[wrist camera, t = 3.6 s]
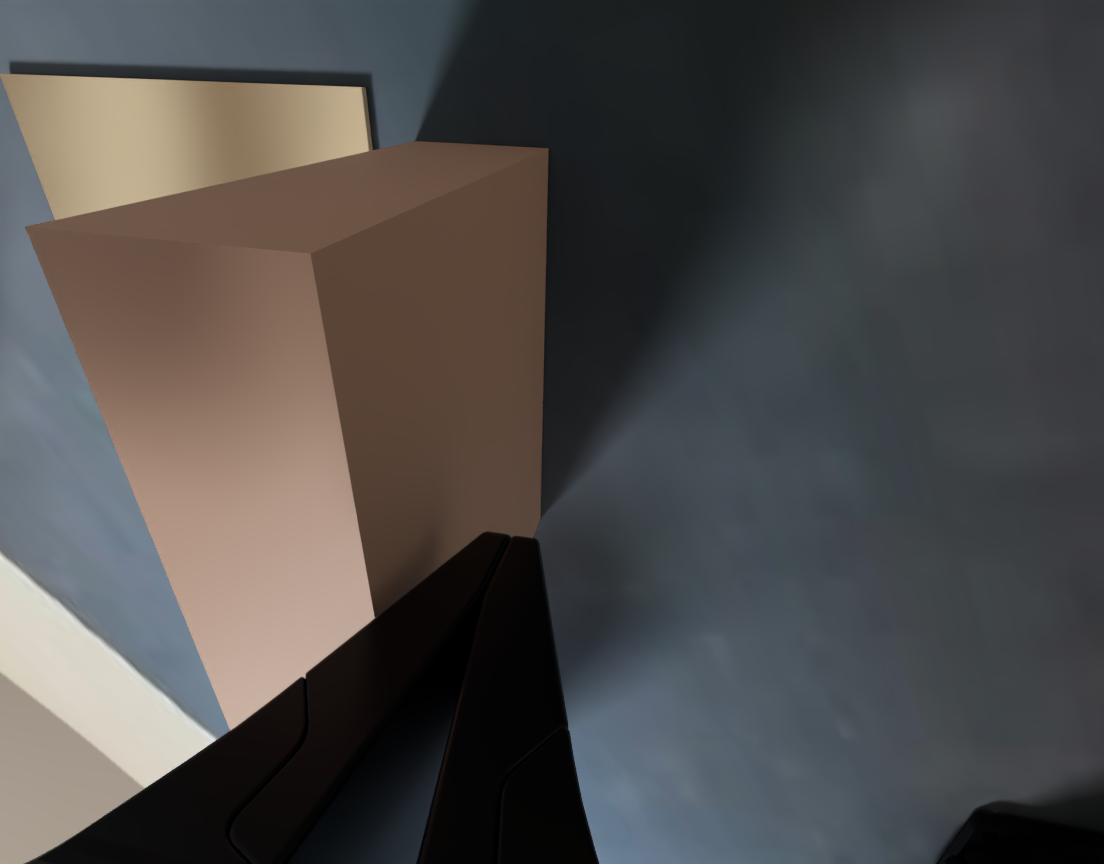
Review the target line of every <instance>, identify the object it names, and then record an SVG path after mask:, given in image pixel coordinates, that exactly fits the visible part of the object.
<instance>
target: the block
mask: <svg viewBox="0 0 1104 864" xmlns="http://www.w3.org/2000/svg"><path fill="white" fill-rule="evenodd" d="M548 151H549V148H534V147H516V146H498V145H480V144H461V143H442V142H423V141H414V142H409V143H404V144H400V145H395V146H391V147H386V148H382V149H377V150H373V151H368V152H364V153H359V154H354V155H350V156H345V157H341V158H336V159H332V160H327V161H323V162H318V163H313V164H309V165H304V166H300V167H295V168H291V169H286V170H282V171H277V172H272V173H268V174H263V175H259V176H254V177H250V178H245V179H241V180H236V181H232V182H227V183H222V184H218V185H213V186H209V187H204V188H200V189H195V190H191V191H186V192H181V193H177V194H172V195H168V196H163V197H159V198H154V199H150V200H145V201H140V202H136V203H131V204H127V205H122V206H118V207H113V208H109V209H104V210H99V211H95V212H90V213H86V214H81V215H77V216H72V217H68V218H63V219H59V220H54V221H49V222H45V223H40V224H36V225H31V226H27V227H25V228H26V230H27V233H28V235H29V237H30V240H31V242H32V245H33V247H34V250H35V252H36V255H37V257H38V260H39V262H40V265H41V267H42V269H43V272H44V274H45V277H46V279H47V282H48V284H49V287H50V289H51V292H52V294H53V296H54V299H55V301H56V304H57V306H58V309H59V311H60V314H61V316H62V319H63V321H64V323H65V326H66V328H67V331H68V333H69V336H70V338H71V341H72V343H73V346H74V348H75V350H76V353H77V355H78V358H79V360H80V363H81V365H82V368H83V370H84V373H85V375H86V377H87V380H88V382H89V385H90V387H91V390H92V392H93V395H94V397H95V400H96V402H97V404H98V407H99V409H100V412H101V414H102V417H103V419H104V422H105V424H106V427H107V429H108V431H109V434H110V436H111V439H112V441H113V444H114V446H115V449H116V451H117V454H118V456H119V458H120V461H121V463H122V466H123V468H124V471H125V473H126V476H127V478H128V481H129V483H130V485H131V488H132V490H133V493H134V495H135V498H136V500H137V503H138V505H139V508H140V510H141V512H142V515H143V517H144V520H145V522H146V525H147V527H148V530H149V532H150V535H151V537H152V539H153V542H154V544H155V547H156V549H157V552H158V554H159V557H160V559H161V562H162V564H163V566H164V569H165V571H166V574H167V576H168V579H169V581H170V584H171V586H172V589H173V591H174V593H175V596H176V598H177V601H178V603H179V606H180V608H181V611H182V613H183V616H184V618H185V620H186V623H187V625H188V628H189V630H190V633H191V635H192V638H193V640H194V643H195V645H196V647H197V650H198V652H199V655H200V657H201V660H202V662H203V665H204V667H205V670H206V672H207V674H208V677H209V679H210V682H211V684H212V687H213V689H214V692H215V694H216V697H217V699H218V701H219V704H220V706H221V709H222V711H223V714H224V716H225V719H226V721H227V724H228V726H229V728H230V730H232V729H233V728H235V727H236V726H238V725H239V724H240V723H242V722H243V721H244V720H246V719H247V718H248V717H249V716H251V715H252V714H253V713H255V712H256V711H257V710H259V709H260V708H261V707H263V706H264V705H265V704H267V703H268V702H269V701H271V700H272V699H273V698H275V697H276V696H277V695H278V694H280V693H281V692H282V691H283V690H285V689H286V688H287V687H288V686H290V685H291V684H292V683H294V682H295V681H296V680H297V679H299V678H300V677H304V678H305V675H306V673H307V672H308V671H309V670H310V669H312V668H313V667H314V666H315V665H317V664H318V663H319V662H320V661H322V660H323V659H324V658H325V657H327V656H328V655H329V654H330V653H332V652H333V651H334V650H335V649H337V648H338V647H339V646H340V645H342V644H343V643H344V642H345V641H347V640H348V639H349V638H351V637H352V636H353V635H354V634H356V633H357V632H358V631H359V630H361V629H362V628H363V627H364V626H366V625H367V624H368V623H369V622H371V621H372V620H373V619H374V618H376V617H377V616H378V615H379V614H381V613H382V612H383V611H385V610H386V609H387V608H388V607H390V606H391V605H392V604H393V603H395V602H396V601H397V600H398V599H400V598H401V597H402V596H403V595H405V594H406V593H407V592H408V591H410V590H411V589H412V588H413V587H415V586H416V585H417V584H418V583H420V582H421V581H422V580H424V579H425V578H426V577H427V576H429V575H430V574H431V573H432V572H434V571H435V570H436V569H437V568H439V567H440V566H441V565H442V564H444V563H445V562H446V561H447V560H449V559H450V558H451V557H452V556H454V555H455V554H456V553H458V552H459V551H460V550H461V549H463V548H464V547H465V546H466V545H468V544H469V543H470V542H471V541H473V540H474V539H475V538H476V537H478V536H479V535H480V534H482V533H483V532H486V531H490V532H497V533H504V534H508V535H510V536H511V537H513V536H516V535H517V536H523V537H530V538H533V537H534V535H535V532H536V529H537V527H538V524H539V522H540V515H541V470H542V424H543V379H544V333H545V288H546V242H547V197H548Z"/></svg>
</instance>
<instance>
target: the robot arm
mask: <svg viewBox="0 0 1104 864" xmlns="http://www.w3.org/2000/svg"><path fill="white" fill-rule="evenodd" d="M25 864H599V861H598V858H597V854H596V851H595V847H594V844H593V840H592V836H591V832H590V829H589V825H588V821H587V817H586V814H585V810H584V806H583V802H582V798H581V793H580V788H579V782H578V777H577V772H576V767H575V762H574V756H573V750H572V744H571V737H570V732H569V730H568V720H567V714H566V708H565V701H564V695H563V689H562V683H561V676H560V670H559V664H558V658H557V651H556V645H555V639H554V632H553V626H552V620H551V614H550V607H549V601H548V595H547V589H546V582H545V576H544V570H543V563H542V557H541V551H540V545H539V541H538V540H537V539H535V538H530V537H523V536H517V535H516V536H513V537H511V536H510V535H508V534H504V533H497V532H490V531H486V532H483V533H482V534H480V535H479V536H478V537H476V538H475V539H474V540H473V541H471V542H470V543H469V544H468V545H466V546H465V547H464V548H463V549H461V550H460V551H459V552H458V553H456V554H455V555H454V556H452V557H451V558H450V559H449V560H447V561H446V562H445V563H444V564H442V565H441V566H440V567H439V568H437V569H436V570H435V571H434V572H432V573H431V574H430V575H429V576H427V577H426V578H425V579H424V580H422V581H421V582H420V583H418V584H417V585H416V586H415V587H413V588H412V589H411V590H410V591H408V592H407V593H406V594H405V595H403V596H402V597H401V598H400V599H398V600H397V601H396V602H395V603H393V604H392V605H391V606H390V607H388V608H387V609H386V610H385V611H383V612H382V613H381V614H379V615H378V616H377V617H376V618H374V619H373V620H372V621H371V622H369V623H368V624H367V625H366V626H364V627H363V628H362V629H361V630H359V631H358V632H357V633H356V634H354V635H353V636H352V637H351V638H349V639H348V640H347V641H345V642H344V643H343V644H342V645H340V646H339V647H338V648H337V649H335V650H334V651H333V652H332V653H330V654H329V655H328V656H327V657H325V658H324V659H323V660H322V661H320V662H319V663H318V664H317V665H315V666H314V667H313V668H312V669H310V670H309V671H308V672H307V673H306V675H305V678H304V677H300V678H299V679H297V680H296V681H295V682H294V683H292V684H291V685H290V686H288V687H287V688H286V689H285V690H283V691H282V692H281V693H280V694H278V695H277V696H276V697H275V698H273V699H272V700H271V701H269V702H268V703H267V704H265V705H264V706H263V707H261V708H260V709H259V710H257V711H256V712H255V713H253V714H252V715H251V716H249V717H248V718H247V719H246V720H244V721H243V722H242V723H240V724H239V725H238V726H236V727H235V728H233V729H232V730H230V731H229V732H227V733H226V734H225V735H223V736H222V737H220V738H219V739H217V740H216V741H215V742H213V743H212V744H210V745H209V746H207V747H206V748H204V749H203V750H202V751H200V752H199V753H197V754H196V755H194V756H193V757H191V758H190V759H188V760H187V761H185V762H184V763H182V764H181V765H179V766H178V767H176V768H175V769H173V770H172V771H170V772H169V773H167V774H166V775H164V776H163V777H161V778H160V779H158V780H157V781H155V782H154V783H152V784H151V785H149V786H148V787H146V788H145V789H143V790H142V791H140V792H139V793H137V794H136V795H135V796H133V797H131V798H130V799H129V800H127V801H126V802H124V803H122V804H121V805H119V806H118V807H117V808H115V809H113V810H112V811H110V812H109V813H107V814H106V815H104V816H103V817H102V818H100V819H98V820H97V821H96V822H94V823H92V824H91V825H90V826H88V827H86V828H85V829H83V830H82V831H80V832H79V833H77V834H76V835H74V836H73V837H71V838H70V839H68V840H66V841H65V842H63V843H61V844H60V845H58V846H57V847H55V848H53V849H51V850H49V851H48V852H46V853H44V854H42V855H40V856H38V857H37V858H35V859H33V860H31V861H29V862H26V863H25ZM938 864H1104V838H1103V837H1098V836H1093V835H1088V834H1083V833H1077V832H1072V831H1067V830H1062V829H1057V828H1052V827H1047V826H1042V825H1037V824H1032V823H1027V822H1022V821H1017V820H1012V819H1006V818H1001V817H996V816H991V815H978V816H975V817H972V818H971V819H970V820H969V821H968V823H967V824H966V825H965V827H964V828H963V829H962V831H961V832H960V834H959V835H958V836H957V838H956V839H955V841H954V842H953V843H952V845H951V846H950V848H949V849H948V850H947V852H946V853H945V854H944V856H943V857H942V859H941V860H940V861H939V863H938Z"/></svg>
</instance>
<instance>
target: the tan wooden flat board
mask: <svg viewBox="0 0 1104 864" xmlns="http://www.w3.org/2000/svg"><path fill="white" fill-rule="evenodd" d="M0 76H1V79H2V81H3V84H4V87H5V89H6V92H7V95H8V97H9V100H10V103H11V105H12V108H13V110H14V113H15V116H16V118H17V121H18V124H19V126H20V129H21V131H22V134H23V137H24V139H25V142H26V145H27V147H28V150H29V153H30V155H31V158H32V160H33V163H34V166H35V168H36V171H37V174H38V176H39V179H40V181H41V184H42V187H43V189H44V192H45V195H46V197H47V200H48V203H49V205H50V208H51V210H52V213H53V216H54V218H55V220H59V219H63V218H68V217H72V216H77V215H81V214H86V213H90V212H95V211H99V210H104V209H109V208H113V207H118V206H122V205H127V204H131V203H136V202H140V201H145V200H150V199H154V198H159V197H163V196H168V195H172V194H177V193H181V192H186V191H191V190H195V189H200V188H204V187H209V186H213V185H218V184H222V183H227V182H232V181H236V180H241V179H245V178H250V177H254V176H259V175H263V174H268V173H272V172H277V171H282V170H286V169H291V168H295V167H300V166H304V165H309V164H313V163H318V162H323V161H327V160H332V159H336V158H341V157H345V156H350V155H354V154H359V153H364V152H368V151H373V147H372V138H371V129H370V121H369V112H368V103H367V94H366V87H348V86H321V85H294V84H268V83H241V82H214V81H188V80H161V79H134V78H108V77H81V76H54V75H28V74H0Z"/></svg>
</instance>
